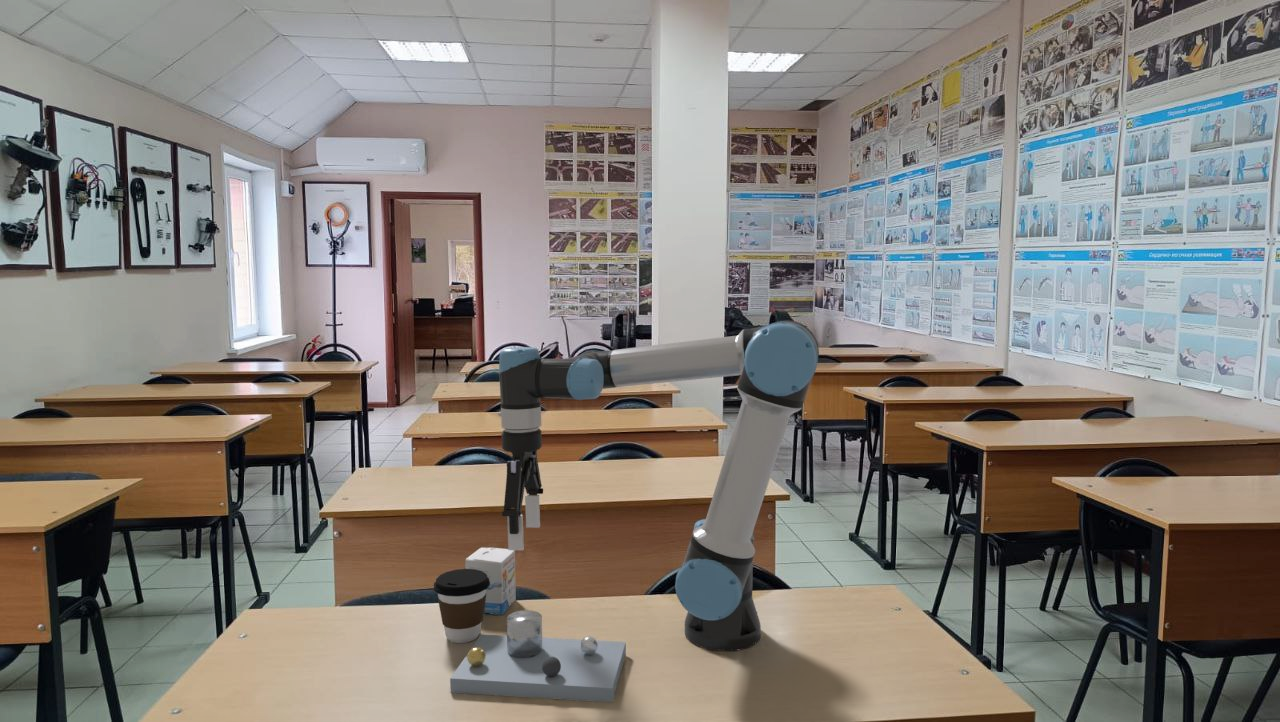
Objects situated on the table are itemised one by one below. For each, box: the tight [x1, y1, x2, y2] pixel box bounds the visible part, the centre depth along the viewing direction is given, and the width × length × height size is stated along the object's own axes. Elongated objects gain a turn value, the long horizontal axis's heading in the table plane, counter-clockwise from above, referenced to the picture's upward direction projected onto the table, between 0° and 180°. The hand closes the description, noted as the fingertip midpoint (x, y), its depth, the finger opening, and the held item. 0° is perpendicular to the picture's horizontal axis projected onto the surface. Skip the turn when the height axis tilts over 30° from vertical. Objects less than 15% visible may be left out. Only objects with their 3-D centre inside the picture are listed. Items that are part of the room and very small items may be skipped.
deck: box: [449, 633, 627, 703], centre depth 141 cm, size 28×17×2 cm, turn 83°
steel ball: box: [580, 635, 598, 655], centre depth 143 cm, size 3×3×3 cm
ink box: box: [464, 547, 517, 615], centre depth 170 cm, size 9×8×12 cm
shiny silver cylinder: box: [506, 609, 543, 657], centre depth 144 cm, size 6×6×6 cm
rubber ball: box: [542, 657, 561, 677], centre depth 135 cm, size 3×3×3 cm
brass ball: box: [466, 647, 486, 666], centre depth 138 cm, size 3×3×3 cm
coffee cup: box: [433, 568, 490, 644], centre depth 155 cm, size 11×11×12 cm
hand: (525, 538), depth 151 cm, fingers open, 13 cm apart
